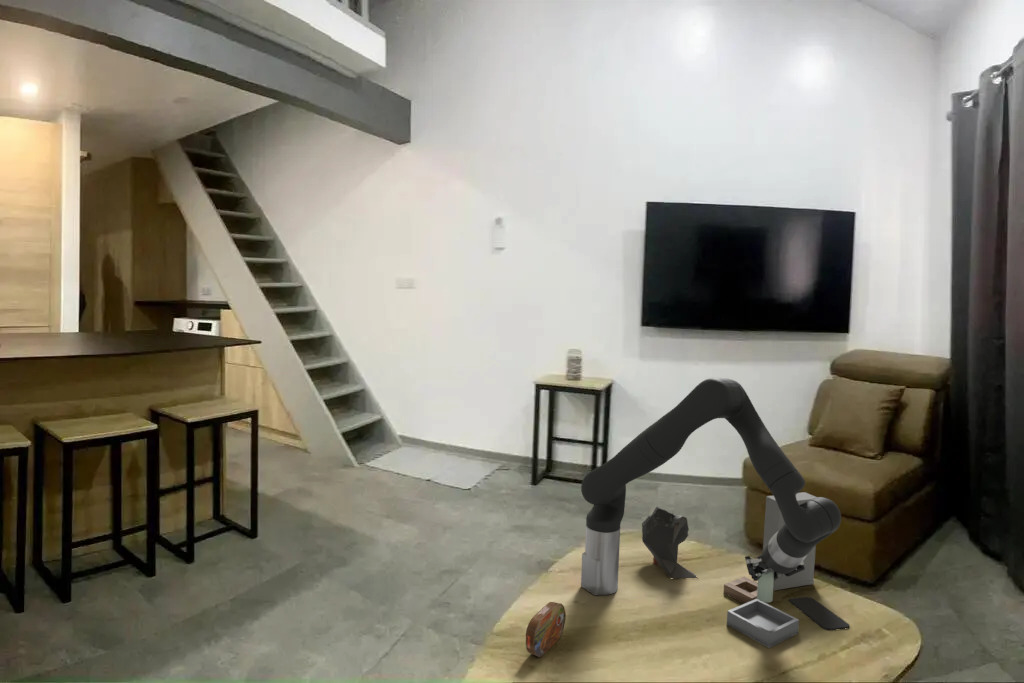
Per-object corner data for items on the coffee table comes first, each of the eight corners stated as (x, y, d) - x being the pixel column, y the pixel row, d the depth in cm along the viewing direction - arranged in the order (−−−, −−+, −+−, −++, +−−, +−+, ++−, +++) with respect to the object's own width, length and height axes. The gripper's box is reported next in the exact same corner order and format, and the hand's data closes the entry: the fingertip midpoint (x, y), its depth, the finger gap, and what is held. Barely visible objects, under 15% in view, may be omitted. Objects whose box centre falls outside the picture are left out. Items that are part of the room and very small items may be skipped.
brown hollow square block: (751, 607, 159) (752, 598, 159) (723, 593, 167) (724, 584, 166) (771, 598, 164) (772, 589, 164) (743, 585, 171) (744, 576, 171)
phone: (810, 596, 165) (852, 626, 151) (810, 599, 166) (851, 629, 151) (786, 598, 164) (825, 629, 149) (786, 601, 164) (825, 632, 149)
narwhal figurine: (681, 555, 190) (684, 498, 188) (698, 578, 174) (702, 517, 173) (635, 555, 189) (638, 498, 187) (649, 579, 174) (652, 517, 172)
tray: (769, 648, 141) (769, 633, 141) (726, 624, 151) (727, 610, 151) (798, 633, 148) (799, 619, 147) (755, 611, 157) (756, 598, 157)
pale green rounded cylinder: (766, 603, 146) (769, 563, 145) (753, 597, 149) (756, 557, 148) (775, 600, 148) (777, 560, 147) (762, 593, 151) (764, 554, 150)
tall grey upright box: (797, 574, 178) (803, 491, 176) (813, 584, 173) (820, 498, 170) (758, 581, 174) (763, 495, 172) (773, 591, 168) (779, 502, 166)
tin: (534, 664, 134) (535, 627, 133) (522, 659, 135) (523, 622, 134) (566, 632, 146) (567, 598, 145) (554, 628, 148) (555, 594, 147)
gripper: (813, 534, 139) (787, 562, 153) (750, 533, 140) (730, 561, 153) (822, 568, 135) (795, 593, 148) (757, 566, 135) (736, 592, 148)
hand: (762, 577), depth 150 cm, fingers closed on pale green rounded cylinder, 3 cm apart
